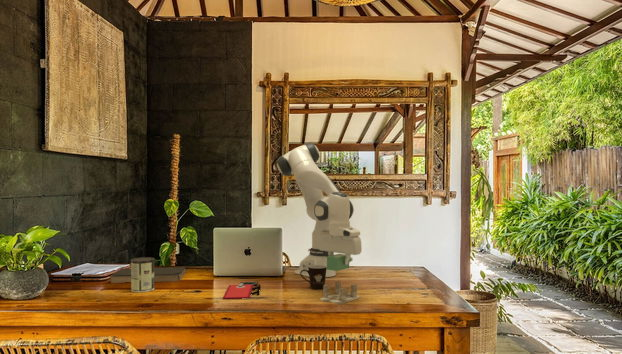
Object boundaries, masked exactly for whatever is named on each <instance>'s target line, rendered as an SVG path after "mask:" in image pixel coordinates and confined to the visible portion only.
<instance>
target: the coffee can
mask: <svg viewBox="0 0 622 354" xmlns="http://www.w3.org/2000/svg"><path fill="white" fill-rule="evenodd" d="M130 268H131V283H130V291H131V292H132V293H147V292H151V291H154V290H155V282H154V268H155V257H152V256H151V257H150V256H146V257H134V258H132V259H130Z"/></svg>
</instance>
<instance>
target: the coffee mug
mask: <svg viewBox="0 0 622 354" xmlns="http://www.w3.org/2000/svg"><path fill="white" fill-rule="evenodd" d="M308 269H309V271H308V270H305V269H304V270H302V271H301V272H300V274H299V275H300V277H301V278H302V279H303V280H305V281H306V282H308V283H309V286H310V289H311V290H312V291H313V290H314V291H315V290H316V291H318V290H319V291H321V290H323V285H326V278H327V277H326V269H327V266H324V265H311V266H308ZM303 271H307V272H308V274H309V277H308V278H309V280H308V279H307V278H305V276H304V275H301V273H302V272H303Z"/></svg>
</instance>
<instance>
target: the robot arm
mask: <svg viewBox="0 0 622 354" xmlns="http://www.w3.org/2000/svg"><path fill="white" fill-rule="evenodd" d="M319 159H320V151H319V149H318V147H317V145H315V144H314V143H312V142H307V143H304V144H303V145H300V146H298V147H294V148H293V149H292V150H290V151H288V152H286V153H285V154H283V155H281V156H279V157H278V158H277V160H276V167H277V170H278V171H279V172H280V174H282V176H285V177H289V176H292V175H293V176H294V179H295V182H296V184H297V186H298V188H299V191H301V194H302V197H303V200H304V203H305V207H306V210H305V211H306V214H307V215H308V217H309V218H310V219H312V220H314V221H315V225H314V229H313V231H312V233H311V248H308V249H307V252H309V254H308V255H307V256H306V257H304V258H303V259H302V260H301V261H300V262H299V265H298V266H299V267H298V269H296V270H295V271H294V274H297V275H300V272H301V271H302V270H304V269H305V270H308V271H309V269H308V266H311V265H324V266H327V256H331V255H335V254H345V256H346V258H345V260H343V264H346V265H347V264H348V260H349V258H350V257H352V256H358V255H360V254H361V253H362V239H361V237H360V235H361V231H360V230H359V229H356V228H354V227H352V226H351V223H350V222H351V221H350V219H351V218H352V216H353V215H354V210H355V209H354V206H353V205H354V204H353V203H352V201H351V200H350V197H349V195H348V194H347V193H345V192H342V191H341V190H340V189H339V188H338V187H337V185H336V184H335V183H334V181H333V180H332V178H330V176H328V175H327V174H326V173H324V172H323V171H322V170H321V169H320V168H319V167H318V165H317V164H316V163H317V162H318V161H319ZM323 193H325V194H326V195H327V197H326V198H325V197H324V194H323ZM336 272H337V271H333V270H327V269H326V278H328V277H329V278H330V277H335V276H337V273H336ZM301 275H302V276H303V277H308V278H309V274H308V272H307V271H303V272H302V273H301ZM301 275H300V276H301Z"/></svg>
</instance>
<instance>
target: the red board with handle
mask: <svg viewBox="0 0 622 354" xmlns="http://www.w3.org/2000/svg"><path fill="white" fill-rule="evenodd" d="M261 286H262V285H261V284H259V281H240V283H238V284H228V287H227V288H226V291H225V292H224V294H223V296H222V300H243V299H242V298H250V299H251V296H254V295H256V296H260V291H261ZM259 290H260V291H259ZM251 294H253V295H251ZM250 295H251V296H250Z"/></svg>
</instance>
